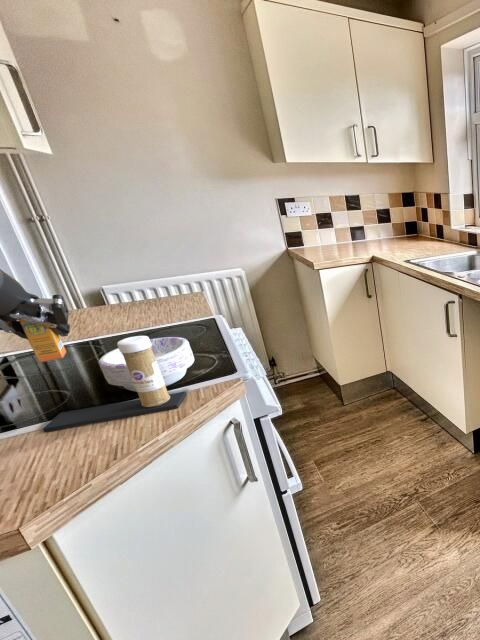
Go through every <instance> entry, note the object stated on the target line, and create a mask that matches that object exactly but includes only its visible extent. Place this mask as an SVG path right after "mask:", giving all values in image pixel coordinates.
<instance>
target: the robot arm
mask: <svg viewBox="0 0 480 640" xmlns="http://www.w3.org/2000/svg"><path fill="white" fill-rule="evenodd" d="M69 314H70V313H69V309H68V306H67V302H66V300H65V298H64V296H63V295H62V294H53V295H52V298H40V297H39V296H37V295H36V294H33V293H29V292H28V291H26V290H25V288H24V287H23V285H22V284H21V283H20V282H19V281H18V280H16V279H15V278H14V277H12V276H11V275H10V274H8V273H6V272H5V271H4V270H3V269H0V331H4V332H5V333H8V334H14V335H16V336H17V337H19V338H22V339H25V340H27V341H29V340H28V338H27V336H26V334H25V332H24V330H23V328H22V325H21V323H20V321H19V320H24V321H26V322H29V323H32V324H34V325H37V324H41V325H44V326H46V327H49V329H51V330H52V331H54V332H55V333H57V334H58V335H59V337H68V336H69V334H70V332H71V325H70V324H69V323H68V322H69ZM45 316H47V319H46V318H45Z"/></svg>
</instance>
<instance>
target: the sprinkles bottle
mask: <svg viewBox="0 0 480 640" xmlns="http://www.w3.org/2000/svg"><path fill="white" fill-rule="evenodd" d="M116 345H117V348H119V351H120V352H121V353H122V355H123V356H124V360H125V362H126V365H127V367H128V370H129V372H130V375H131V379H132V381H133V384H134V386H135V389H136V391H137V392H136V391H135V392H136V393H137V396H138V398H139V399H140V400H141V405H142V406H143V407H155V406H159V405H162V404H164V403H166V402H167V401H168V400H169V399H170V395H169V394H170V393H169V392H168V389H167V386H165V382H164V380H163V377H162V374H161V372H160V369H159V366H158V364H157V361H156V359H155V357H154V354H153V351H152V349H151V348H152V347H151V342H150V337H149V336H147V335H136V336H129V337H126V338H122V339H121V340H118V341H117V343H116Z"/></svg>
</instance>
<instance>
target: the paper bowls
mask: <svg viewBox="0 0 480 640" xmlns="http://www.w3.org/2000/svg"><path fill="white" fill-rule="evenodd" d="M149 340H150V342H151V347H152V348H151V349H152V351H153V354H154V357H155V359H156V361H157V364H158V366H159V369H160V372H161V374H162V377H163V380H164V382H165V386H166V387H169V386H171V385H173V384H175V383H177V382H179V381H180V380H181V379H183V378H184V377H185V376H186V374H187V369H188V368H190V367H191V366H192V365H193V364H194V362H195V356H194V353H193V350H192V348H191V345H190V342H189V341H188V339H186V338H184V337H181V336H180V337H179V336H165V337H157V338H156V337H155V338H149ZM98 365H99V367H100V369H101V371H102V373H103V376H104V379H105V380H106V382H107V383H108V384H109V385H110V386H111V385H112V386H118V387H123V388H125V389H126V390H128V391H130V392H136V393H138V392H137V391H136V389H135V386H134V384H133V381H132V379H131V375H130V372H129V370H128V367H127V365H126V362H125V360H124V356H123V355H122V353H121V352H120V351H119V348H118V347H117V348H115V349H112V350H111V351H109V352H107V353H105V354H103V355H102V356H101V357H100V358H99V360H98Z"/></svg>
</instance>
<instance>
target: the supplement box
mask: <svg viewBox="0 0 480 640" xmlns="http://www.w3.org/2000/svg"><path fill="white" fill-rule="evenodd" d="M45 318H46V319H47V316H45ZM18 321H20V323H21V325H22V328H23V330H24V332H25V334H26V336H27V338H28V340H27V341H28V343H29V344H30V346H31V348H32V351H33V353H34V355H35V357H36V359H37V361H38V362H39V363H44V362H49V361H54V360H55V361H56V360H60V359H63V358H64V357H65V356H66V353H67V349H66V347H65V345H64V343H63V341H62V339H61V336H60V335H58V334H57V333H55V332H54V331H52V330H51V329H49V327H46V326H44V325H41V324H37V325H34V324H32V323H29V322H26V321H24V320H18Z"/></svg>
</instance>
